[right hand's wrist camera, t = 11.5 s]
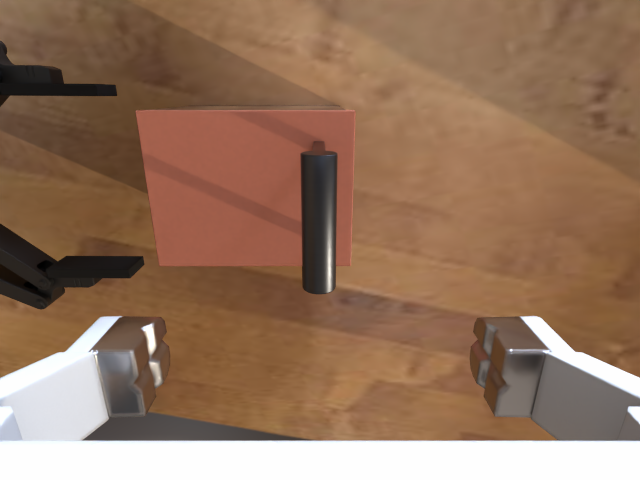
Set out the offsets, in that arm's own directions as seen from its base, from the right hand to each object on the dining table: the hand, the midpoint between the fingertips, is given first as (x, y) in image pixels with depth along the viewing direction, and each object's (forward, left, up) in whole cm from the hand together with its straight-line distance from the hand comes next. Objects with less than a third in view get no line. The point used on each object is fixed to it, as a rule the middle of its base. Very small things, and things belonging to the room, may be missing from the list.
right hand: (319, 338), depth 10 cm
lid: (+3, -3, -17) cm, 17 cm away
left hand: (+10, -11, -21) cm, 26 cm away
